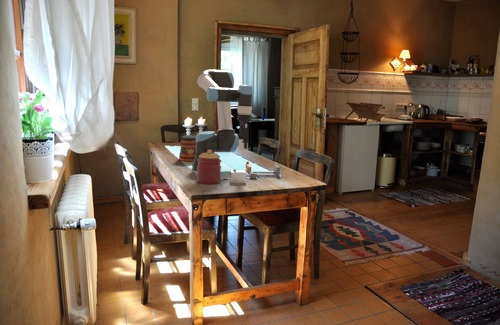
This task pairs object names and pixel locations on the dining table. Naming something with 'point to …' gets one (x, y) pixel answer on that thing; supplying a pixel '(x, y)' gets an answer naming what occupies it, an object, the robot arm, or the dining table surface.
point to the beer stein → (188, 148)
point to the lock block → (238, 176)
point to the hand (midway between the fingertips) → (242, 152)
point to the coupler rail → (265, 173)
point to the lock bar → (248, 167)
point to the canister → (209, 168)
